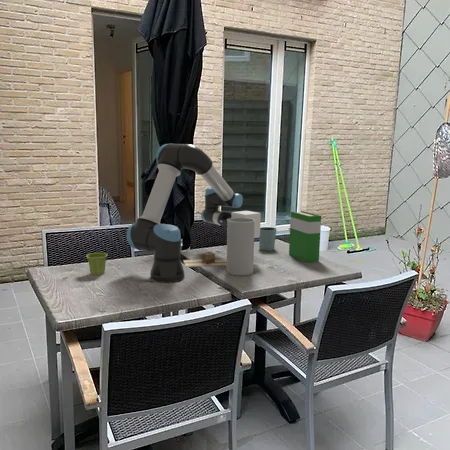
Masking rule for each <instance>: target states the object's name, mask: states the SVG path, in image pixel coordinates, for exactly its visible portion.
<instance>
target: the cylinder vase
mask: <svg viewBox="0 0 450 450" xmlns="http://www.w3.org/2000/svg"><path fill="white" fill-rule="evenodd" d="M254 224H255V220H254V219H249V218H230V219H227V227H226V229H227V230H226V259H227V265H226V273H228V275H231V276H237V277H238V276H240V277H241V276H242V277H244V276H251V275H252V274H253V273H254V257H255V256H254V255H255V254H254V253H255V252H254V251H255V237H254Z"/></svg>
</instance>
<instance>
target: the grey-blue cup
mask: <svg viewBox="0 0 450 450" xmlns="http://www.w3.org/2000/svg"><path fill="white" fill-rule="evenodd" d="M276 235H277V228H276V227H271V226H264V227H263V226H262V227H261V226H260V237H258V239H259V240H258V241H259V246H258V247H259V250H261V251H274V250H275V244H276Z"/></svg>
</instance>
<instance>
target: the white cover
mask: <svg viewBox="0 0 450 450" xmlns="http://www.w3.org/2000/svg"><path fill="white" fill-rule="evenodd" d="M231 215H232V217H231V218H249V219H254V220H255V224H254V238H259V237H260V228H261V217H262V216H261V215H262V213H261V212H257V211H251V210H240V211H232V212H231Z"/></svg>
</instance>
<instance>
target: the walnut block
mask: <svg viewBox="0 0 450 450" xmlns="http://www.w3.org/2000/svg"><path fill="white" fill-rule="evenodd" d="M215 255H216V253H214V252H210V251H206V252H203V253H201V259H202V262H203V263H206V264H211V263H215V259H216V256H215Z"/></svg>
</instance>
